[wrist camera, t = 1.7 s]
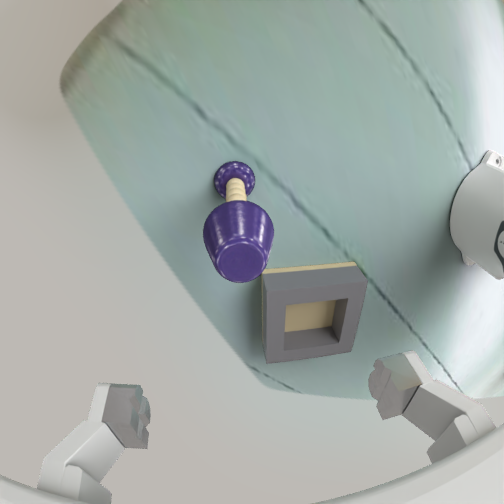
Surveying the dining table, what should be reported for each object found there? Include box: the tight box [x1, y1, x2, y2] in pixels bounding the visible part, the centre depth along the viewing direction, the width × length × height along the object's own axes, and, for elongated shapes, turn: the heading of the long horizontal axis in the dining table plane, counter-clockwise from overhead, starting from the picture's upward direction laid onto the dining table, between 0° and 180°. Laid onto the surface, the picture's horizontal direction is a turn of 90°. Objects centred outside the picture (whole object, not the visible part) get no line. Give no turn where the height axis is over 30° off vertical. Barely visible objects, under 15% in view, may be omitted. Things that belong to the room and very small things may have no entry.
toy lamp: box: [203, 161, 274, 283], centre depth 24 cm, size 5×5×17 cm
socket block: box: [261, 262, 368, 364], centre depth 38 cm, size 12×12×4 cm
